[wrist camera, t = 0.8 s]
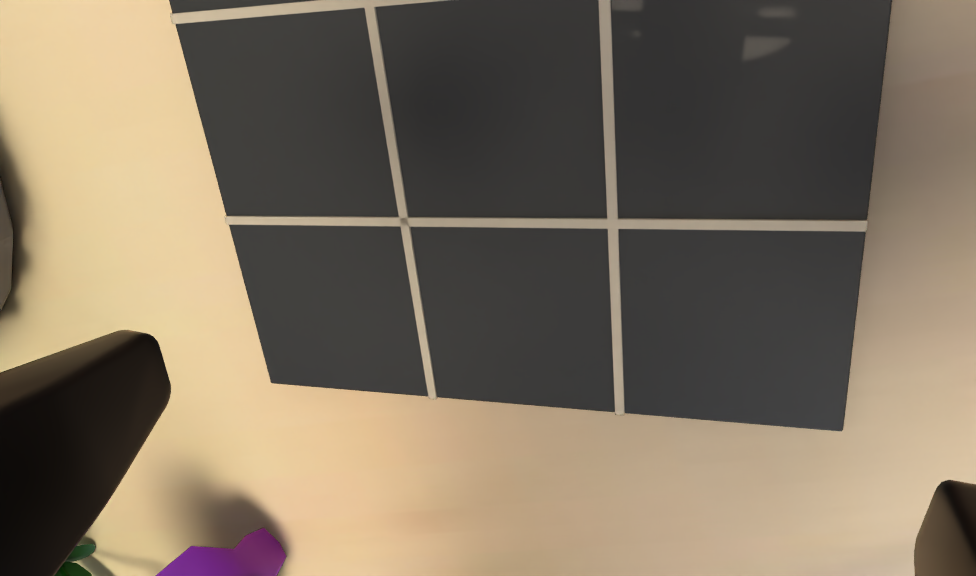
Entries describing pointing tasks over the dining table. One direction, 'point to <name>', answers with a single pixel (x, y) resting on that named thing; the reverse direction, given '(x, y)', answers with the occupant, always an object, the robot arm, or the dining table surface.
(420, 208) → the grid
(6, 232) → the decorative lamp
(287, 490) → the dining table surface
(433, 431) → the dining table surface
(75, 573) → the flower
